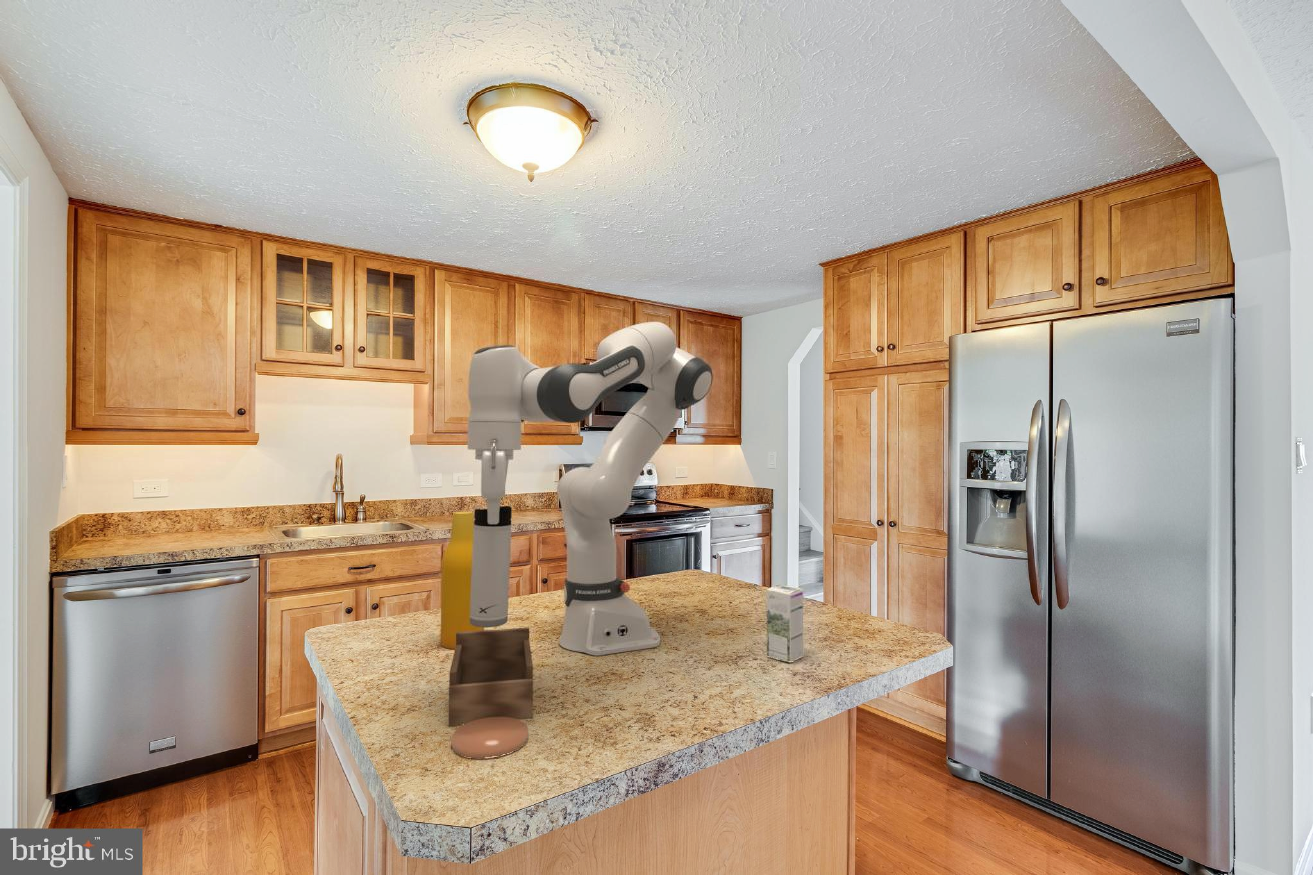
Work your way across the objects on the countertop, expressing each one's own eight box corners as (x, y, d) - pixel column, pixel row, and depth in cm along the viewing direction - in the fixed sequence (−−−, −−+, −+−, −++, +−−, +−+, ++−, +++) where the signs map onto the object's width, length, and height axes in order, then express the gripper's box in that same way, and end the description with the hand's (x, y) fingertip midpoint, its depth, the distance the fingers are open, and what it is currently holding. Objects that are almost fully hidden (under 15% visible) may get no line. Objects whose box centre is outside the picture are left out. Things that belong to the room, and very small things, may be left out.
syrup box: (804, 657, 130) (804, 587, 131) (789, 664, 126) (789, 592, 126) (780, 651, 134) (780, 583, 134) (765, 657, 130) (765, 588, 130)
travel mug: (486, 630, 101) (491, 507, 102) (461, 622, 105) (466, 504, 106) (516, 622, 106) (521, 505, 107) (492, 615, 110) (496, 502, 111)
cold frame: (528, 681, 117) (529, 627, 117) (532, 717, 101) (533, 655, 101) (456, 687, 114) (456, 632, 114) (448, 726, 98) (449, 662, 98)
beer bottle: (450, 652, 132) (451, 515, 132) (433, 642, 139) (434, 512, 139) (491, 643, 138) (492, 512, 139) (472, 634, 145) (473, 509, 146)
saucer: (526, 720, 100) (526, 713, 100) (529, 754, 89) (529, 745, 89) (454, 728, 97) (454, 720, 97) (448, 763, 87) (448, 754, 87)
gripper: (514, 439, 97) (513, 528, 97) (512, 440, 117) (511, 513, 117) (472, 439, 96) (471, 529, 95) (477, 439, 115) (476, 514, 115)
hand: (493, 520), depth 106 cm, fingers closed on travel mug, 6 cm apart
